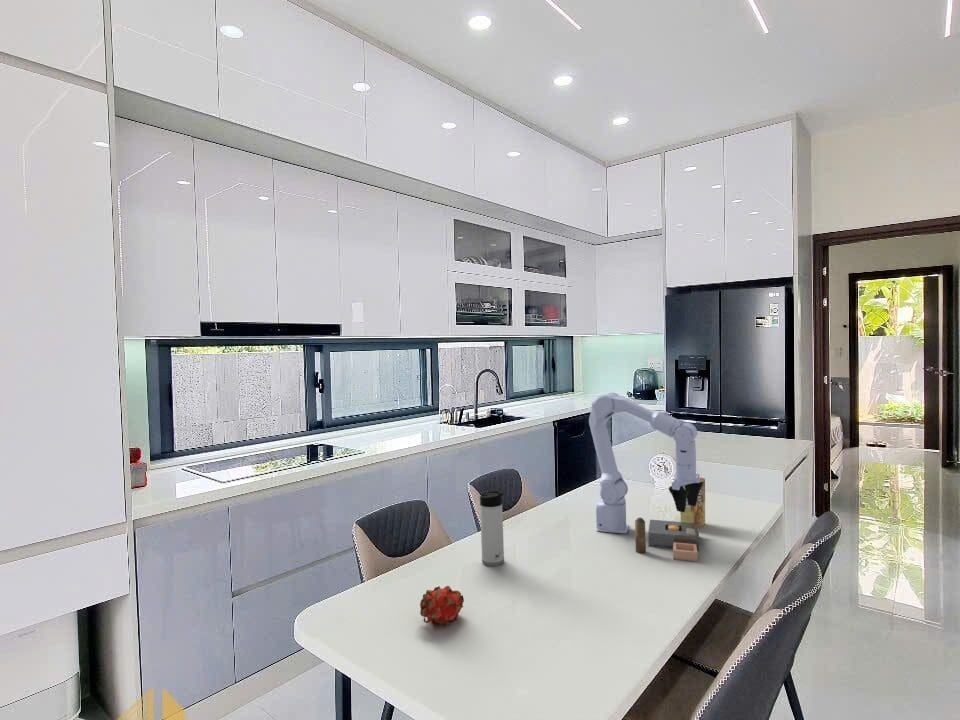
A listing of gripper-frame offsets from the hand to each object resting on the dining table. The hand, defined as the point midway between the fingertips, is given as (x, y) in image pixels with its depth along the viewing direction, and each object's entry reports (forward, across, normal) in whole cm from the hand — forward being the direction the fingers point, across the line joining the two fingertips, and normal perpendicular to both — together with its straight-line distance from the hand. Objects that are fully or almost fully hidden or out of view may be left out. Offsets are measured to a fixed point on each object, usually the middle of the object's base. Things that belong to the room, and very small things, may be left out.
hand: (686, 508), depth 161 cm
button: (+7, -2, +3) cm, 8 cm away
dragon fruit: (+10, -79, +21) cm, 83 cm away
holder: (+10, -11, -4) cm, 15 cm away
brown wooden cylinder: (+10, -16, +6) cm, 20 cm away
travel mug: (+10, -49, +34) cm, 61 cm away
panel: (+10, -2, +3) cm, 11 cm away
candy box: (+10, +14, +4) cm, 18 cm away
